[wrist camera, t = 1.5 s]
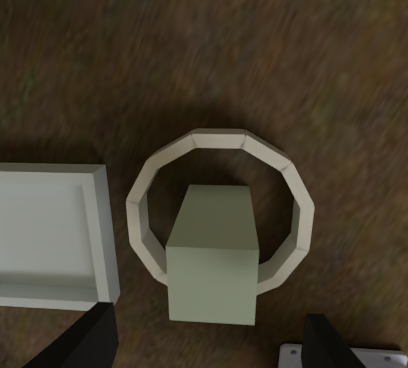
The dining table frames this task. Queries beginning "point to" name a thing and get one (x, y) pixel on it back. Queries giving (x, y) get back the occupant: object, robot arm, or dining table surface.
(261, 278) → the collar
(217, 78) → the dining table surface
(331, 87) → the dining table surface
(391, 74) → the dining table surface
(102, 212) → the tray
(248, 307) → the peg
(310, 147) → the dining table surface
